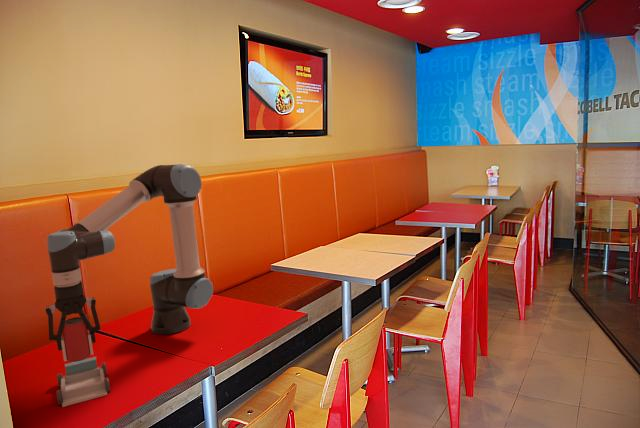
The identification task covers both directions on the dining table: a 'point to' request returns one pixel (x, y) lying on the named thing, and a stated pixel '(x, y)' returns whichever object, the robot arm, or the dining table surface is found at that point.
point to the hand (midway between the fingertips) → (78, 356)
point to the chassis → (82, 382)
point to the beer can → (76, 340)
